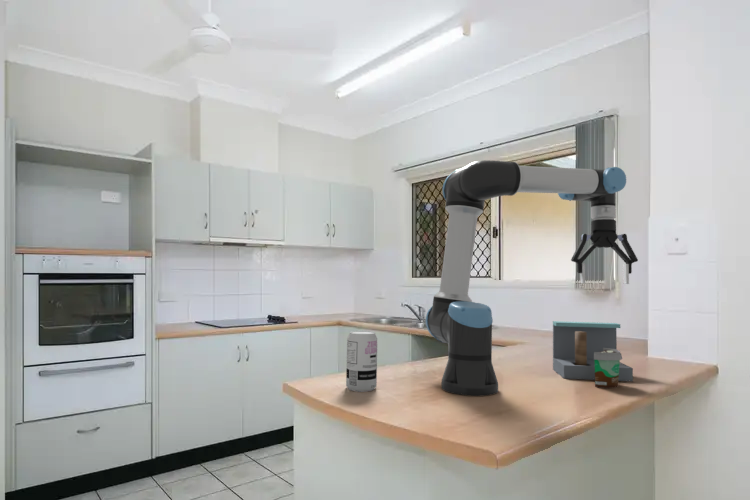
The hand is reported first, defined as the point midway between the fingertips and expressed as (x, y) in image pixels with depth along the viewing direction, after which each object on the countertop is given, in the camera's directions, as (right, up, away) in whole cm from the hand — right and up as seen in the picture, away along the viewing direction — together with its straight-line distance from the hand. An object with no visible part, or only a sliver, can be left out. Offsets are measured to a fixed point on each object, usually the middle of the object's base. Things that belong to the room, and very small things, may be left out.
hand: (604, 283), depth 159 cm
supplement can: (-80, -26, -29) cm, 89 cm away
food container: (-8, -28, -20) cm, 35 cm away
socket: (-7, -29, -5) cm, 30 cm away
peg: (-11, -29, -9) cm, 32 cm away
